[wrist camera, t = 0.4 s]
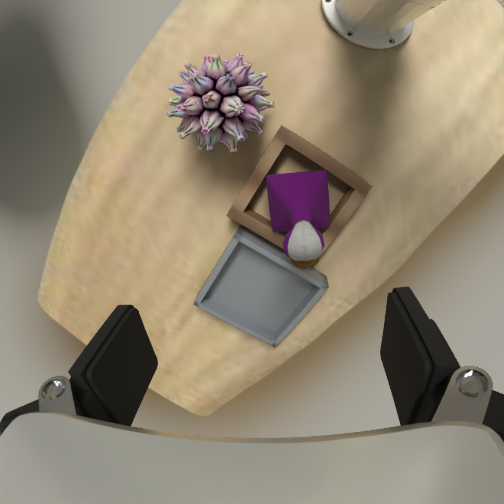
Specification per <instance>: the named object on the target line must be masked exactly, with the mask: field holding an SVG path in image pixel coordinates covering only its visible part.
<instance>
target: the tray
mask: <svg viewBox="0 0 504 504" xmlns="http://www.w3.org/2000/svg"><path fill="white" fill-rule="evenodd" d="M328 287H329V286H328V281H327V276H325V275H323V274H322V273H320V272H318V271H317V270H315V269H313V268H312V267H311V268H307V269H300V268H296V267H295V266H294V265H293V264H292V263H291V262H290V259H289V257H288V256H287V255H286V254H285V251H283V250H281V249H280V248H278V247H276V246H275V245H273V244H271V243H270V242H268V241H266V240H265V239H263V238H261V237H259V236H258V235H256V234H254V233H253V232H251V231H249V230H247V229H246V228H244V227H242V226H241V225H240V226H239V227H238V229H237V231H236V232H235V234H234V235H233V237H232V239H231V240H230V242H229V244H228V245H227V247H226V249H225V250H224V252H223V253H222V255H221V257H220V258H219V260H218V262H217V263H216V265H215V267H214V268H213V270H212V272H211V273H210V275H209V277H208V278H207V280H206V282H205V283H204V285H203V287H202V288H201V290H200V292H199V293H198V295H197V297H196V300H195V302H194V304H193V305H195V306H197V307H199V308H201V309H202V310H204V311H206V312H208V313H210V314H212V315H213V316H215V317H217V318H219V319H221V320H223V321H225V322H227V323H229V324H230V325H232V326H234V327H236V328H238V329H240V330H242V331H244V332H246V333H248V334H250V335H252V336H254V337H256V338H258V339H260V340H262V341H264V342H266V343H268V344H270V345H272V346H274V347H276V346H277V345H278V344H279V343H280V342H281V341H282V340H283V339H284V337H285V336H286V335H287V334H288V333H289V332H290V331H291V330H292V329H293V328H294V326H295V325H296V324H297V323H298V322H299V321H300V320H301V319H302V317H303V316H304V315H305V314H306V313H307V312H308V311H309V309H310V308H311V307H312V306H313V305H314V304H315V303H316V301H317V300H318V299H319V298H320V297H321V296H322V294H323V293H324V292H325V291H326V290H327V288H328Z"/></svg>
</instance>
